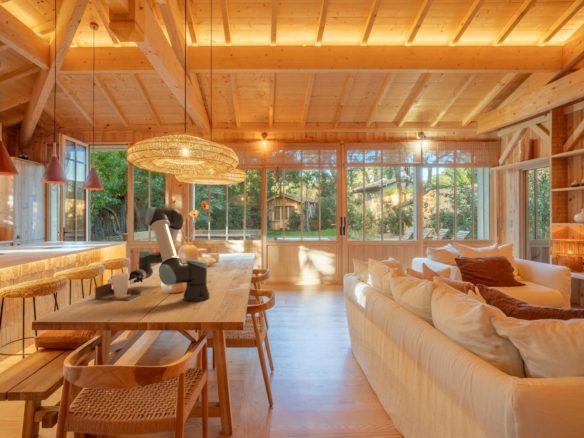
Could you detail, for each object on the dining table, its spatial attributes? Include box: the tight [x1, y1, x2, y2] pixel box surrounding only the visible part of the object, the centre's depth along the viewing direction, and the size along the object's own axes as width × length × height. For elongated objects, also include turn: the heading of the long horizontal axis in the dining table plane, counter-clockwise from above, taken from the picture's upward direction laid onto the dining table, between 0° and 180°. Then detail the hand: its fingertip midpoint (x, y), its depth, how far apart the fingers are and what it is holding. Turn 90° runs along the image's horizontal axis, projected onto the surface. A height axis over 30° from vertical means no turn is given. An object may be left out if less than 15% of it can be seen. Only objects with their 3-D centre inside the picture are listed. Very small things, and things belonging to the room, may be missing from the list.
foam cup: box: [111, 272, 130, 297], centre depth 199 cm, size 10×9×13 cm
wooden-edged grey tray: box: [94, 283, 142, 302], centre depth 199 cm, size 20×14×7 cm
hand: (119, 282), depth 198 cm, fingers open, 13 cm apart
